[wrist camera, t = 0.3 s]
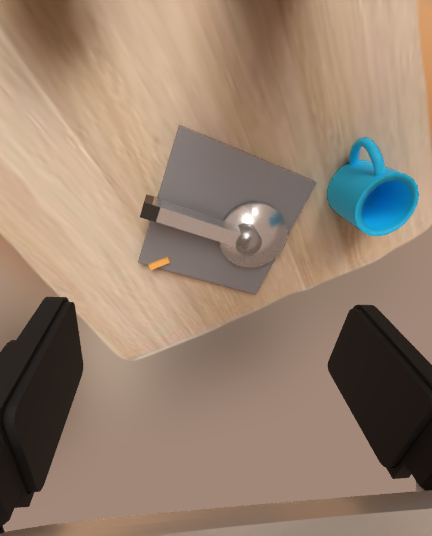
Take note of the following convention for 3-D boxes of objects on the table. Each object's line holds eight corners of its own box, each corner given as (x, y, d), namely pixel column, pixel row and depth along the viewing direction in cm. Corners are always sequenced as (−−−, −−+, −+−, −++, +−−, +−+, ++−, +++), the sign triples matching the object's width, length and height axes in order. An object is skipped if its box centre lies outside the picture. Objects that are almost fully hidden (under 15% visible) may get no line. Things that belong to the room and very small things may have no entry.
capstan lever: (155, 161, 37) (153, 169, 34) (296, 213, 43) (308, 225, 39) (136, 230, 42) (132, 245, 38) (266, 269, 48) (274, 285, 44)
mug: (381, 203, 46) (418, 223, 39) (330, 222, 46) (357, 244, 39) (377, 122, 40) (420, 128, 33) (319, 145, 40) (348, 155, 33)
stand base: (179, 124, 37) (179, 126, 35) (312, 179, 43) (318, 183, 41) (138, 259, 46) (137, 266, 44) (252, 291, 51) (255, 298, 50)
